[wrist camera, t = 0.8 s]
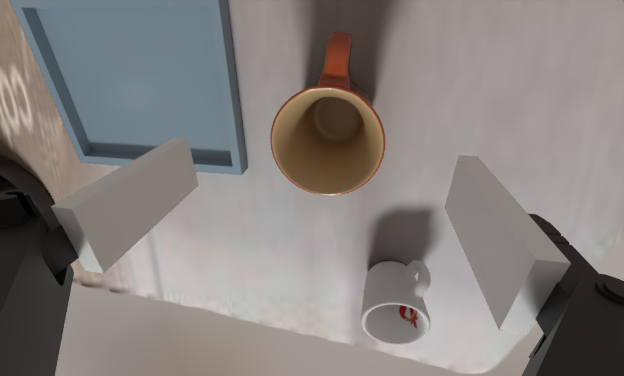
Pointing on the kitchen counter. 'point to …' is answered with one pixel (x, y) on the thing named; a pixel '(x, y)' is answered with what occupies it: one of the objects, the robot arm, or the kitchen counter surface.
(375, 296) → the cup
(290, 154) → the mug
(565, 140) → the kitchen counter surface
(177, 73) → the tray
